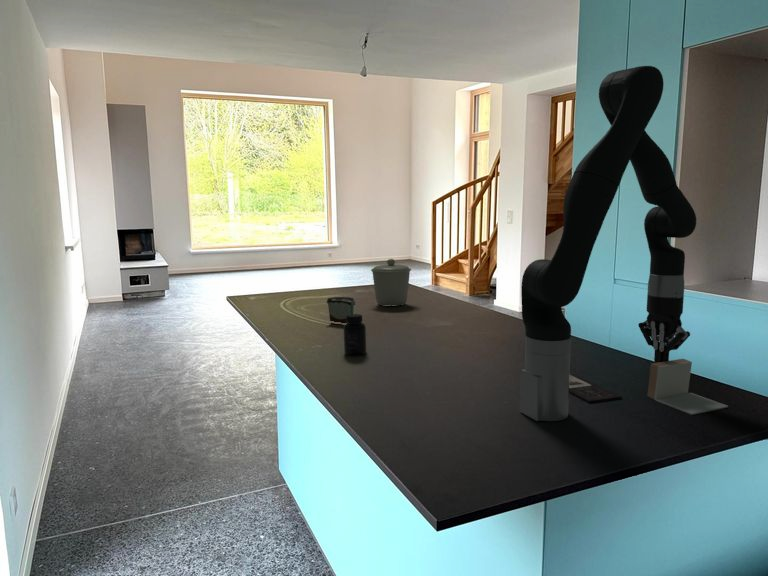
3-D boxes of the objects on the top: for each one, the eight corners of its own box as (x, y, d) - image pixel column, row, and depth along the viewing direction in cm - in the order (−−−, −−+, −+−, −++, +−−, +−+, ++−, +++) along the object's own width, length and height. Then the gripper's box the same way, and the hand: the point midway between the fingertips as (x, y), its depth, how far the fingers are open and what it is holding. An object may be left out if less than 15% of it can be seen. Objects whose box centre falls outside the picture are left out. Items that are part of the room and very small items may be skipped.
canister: (368, 308, 243) (367, 261, 240) (375, 301, 261) (374, 257, 257) (409, 309, 240) (408, 261, 237) (413, 301, 258) (413, 256, 254)
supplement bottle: (371, 353, 170) (370, 315, 169) (355, 357, 165) (354, 318, 164) (355, 349, 175) (354, 312, 173) (339, 353, 170) (338, 315, 168)
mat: (691, 414, 117) (691, 413, 117) (655, 400, 126) (655, 399, 126) (728, 407, 121) (728, 405, 121) (690, 393, 130) (690, 392, 129)
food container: (362, 323, 213) (361, 298, 211) (353, 326, 208) (352, 300, 206) (336, 320, 219) (336, 295, 218) (327, 323, 214) (326, 298, 213)
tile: (655, 400, 126) (659, 367, 124) (647, 396, 128) (651, 363, 127) (687, 394, 130) (691, 361, 128) (679, 390, 132) (683, 358, 130)
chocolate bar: (588, 401, 125) (544, 377, 142) (588, 405, 125) (543, 381, 142) (621, 396, 127) (574, 374, 144) (621, 400, 127) (573, 377, 144)
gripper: (630, 290, 132) (627, 360, 135) (678, 299, 120) (673, 375, 123) (653, 288, 135) (650, 356, 138) (702, 296, 123) (697, 371, 125)
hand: (661, 365), depth 130 cm, fingers closed
